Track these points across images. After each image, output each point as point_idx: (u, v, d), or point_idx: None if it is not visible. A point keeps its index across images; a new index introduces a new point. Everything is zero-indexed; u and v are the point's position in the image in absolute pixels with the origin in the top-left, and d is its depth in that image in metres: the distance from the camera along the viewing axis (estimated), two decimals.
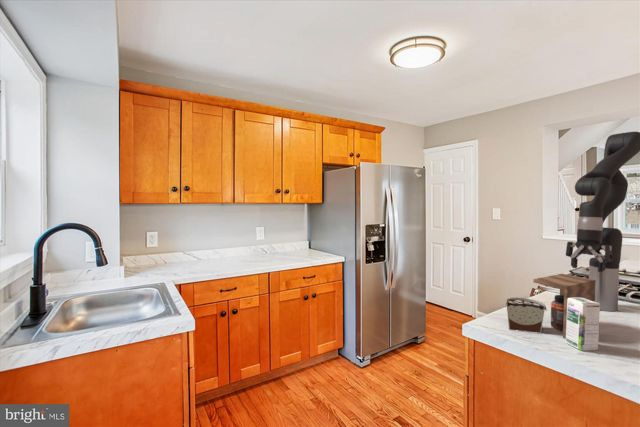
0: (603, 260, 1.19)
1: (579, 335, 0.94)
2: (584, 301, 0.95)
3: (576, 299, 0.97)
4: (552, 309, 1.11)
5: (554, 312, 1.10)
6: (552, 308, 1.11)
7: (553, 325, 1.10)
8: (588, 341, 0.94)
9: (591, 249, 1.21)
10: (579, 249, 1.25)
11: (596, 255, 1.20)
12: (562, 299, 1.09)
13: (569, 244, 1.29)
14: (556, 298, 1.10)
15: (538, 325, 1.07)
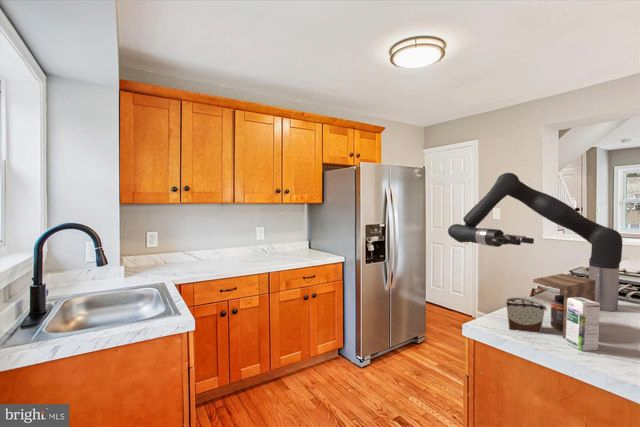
0: (507, 243, 1.28)
1: (579, 335, 0.94)
2: (584, 301, 0.95)
3: (576, 299, 0.97)
4: (552, 309, 1.11)
5: (554, 312, 1.10)
6: (552, 308, 1.11)
7: (553, 325, 1.10)
8: (588, 341, 0.94)
9: None
10: None
11: (506, 244, 1.30)
12: (562, 299, 1.09)
13: None
14: (556, 298, 1.10)
15: (538, 325, 1.07)
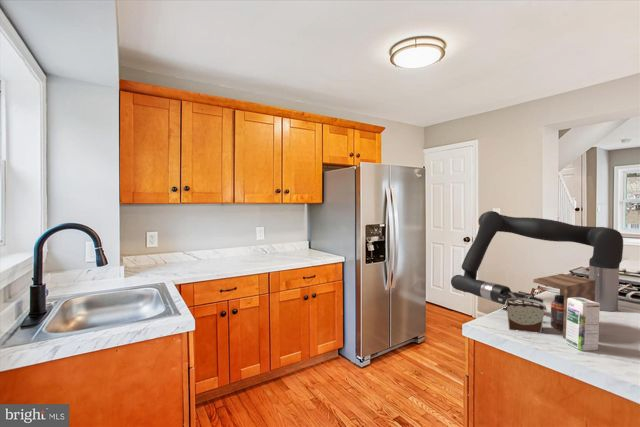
0: None
1: (579, 335, 0.94)
2: (584, 301, 0.95)
3: (576, 299, 0.97)
4: (552, 309, 1.11)
5: (554, 312, 1.10)
6: (552, 308, 1.11)
7: (553, 325, 1.10)
8: (588, 341, 0.94)
9: None
10: None
11: None
12: (562, 299, 1.09)
13: None
14: (556, 298, 1.10)
15: (538, 325, 1.07)
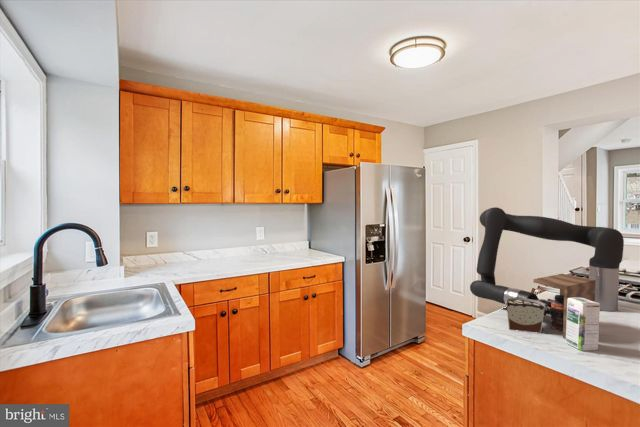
0: None
1: (579, 335, 0.94)
2: (584, 301, 0.95)
3: (576, 299, 0.97)
4: None
5: None
6: (552, 308, 1.11)
7: (553, 325, 1.10)
8: (588, 341, 0.94)
9: None
10: None
11: None
12: (562, 299, 1.09)
13: None
14: (556, 298, 1.10)
15: (538, 325, 1.07)
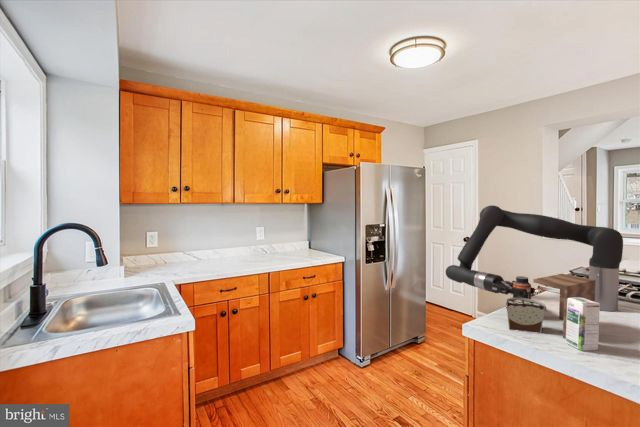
0: (509, 292, 1.23)
1: (579, 335, 0.94)
2: (584, 301, 0.95)
3: (576, 299, 0.97)
4: None
5: None
6: None
7: None
8: (588, 341, 0.94)
9: (503, 291, 1.28)
10: None
11: None
12: (522, 279, 1.21)
13: None
14: (517, 279, 1.22)
15: (538, 325, 1.07)
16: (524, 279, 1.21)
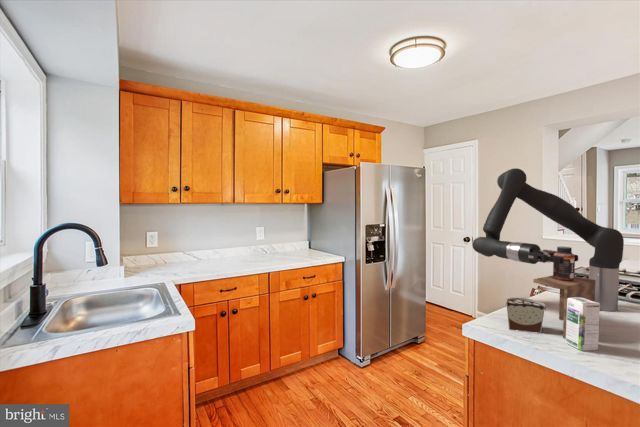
0: (547, 261, 1.10)
1: (579, 335, 0.94)
2: (584, 301, 0.95)
3: (576, 299, 0.97)
4: None
5: (556, 263, 1.10)
6: None
7: (555, 276, 1.10)
8: (588, 341, 0.94)
9: None
10: None
11: None
12: (564, 249, 1.08)
13: None
14: (558, 249, 1.10)
15: (538, 325, 1.07)
16: (567, 249, 1.08)
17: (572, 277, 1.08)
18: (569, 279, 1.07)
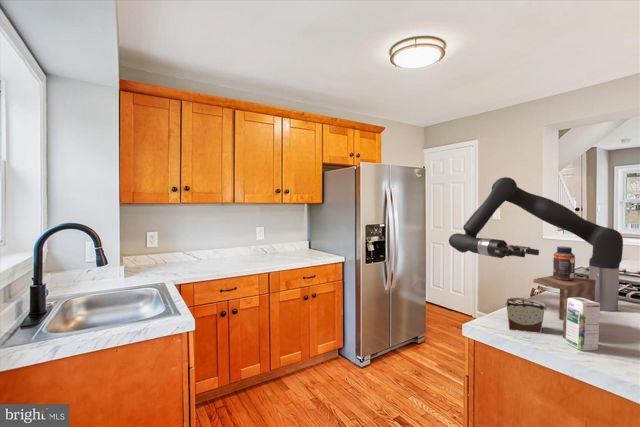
0: (510, 255, 1.22)
1: (579, 335, 0.94)
2: (584, 301, 0.95)
3: (576, 299, 0.97)
4: (554, 260, 1.10)
5: (556, 263, 1.10)
6: (554, 259, 1.10)
7: (555, 276, 1.10)
8: (588, 341, 0.94)
9: None
10: None
11: None
12: (564, 249, 1.08)
13: None
14: (558, 249, 1.10)
15: (538, 325, 1.07)
16: (567, 249, 1.08)
17: (572, 277, 1.08)
18: (569, 279, 1.07)
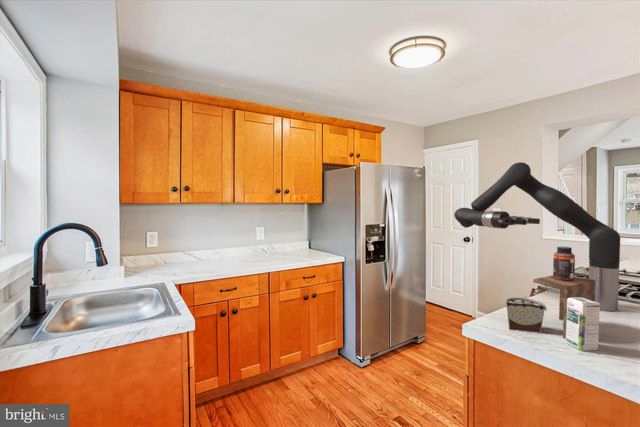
0: (513, 223, 1.30)
1: (579, 335, 0.94)
2: (584, 301, 0.95)
3: (576, 299, 0.97)
4: (554, 260, 1.10)
5: (556, 263, 1.10)
6: (554, 259, 1.10)
7: (555, 276, 1.10)
8: (588, 341, 0.94)
9: None
10: (517, 224, 1.36)
11: None
12: (564, 249, 1.08)
13: None
14: (558, 249, 1.10)
15: (538, 325, 1.07)
16: (567, 249, 1.08)
17: (572, 277, 1.08)
18: (569, 279, 1.07)
